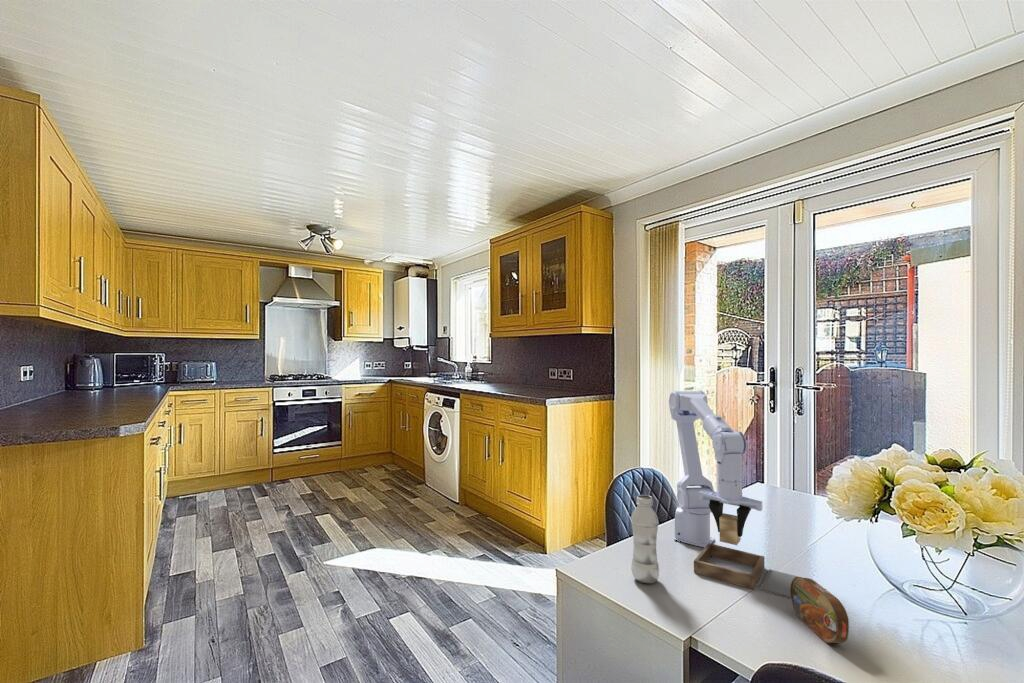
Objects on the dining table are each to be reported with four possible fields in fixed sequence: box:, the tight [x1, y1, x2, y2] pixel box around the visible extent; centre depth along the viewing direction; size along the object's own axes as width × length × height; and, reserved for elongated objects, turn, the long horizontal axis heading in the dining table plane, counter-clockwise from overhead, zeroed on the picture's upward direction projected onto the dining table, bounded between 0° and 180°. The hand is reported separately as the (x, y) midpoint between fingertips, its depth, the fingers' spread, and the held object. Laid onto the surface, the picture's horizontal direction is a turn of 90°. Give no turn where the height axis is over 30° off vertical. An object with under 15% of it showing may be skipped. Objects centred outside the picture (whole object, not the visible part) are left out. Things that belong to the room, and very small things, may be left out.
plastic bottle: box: [630, 494, 660, 584], centre depth 112 cm, size 6×7×20 cm
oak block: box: [719, 512, 742, 546], centre depth 117 cm, size 4×4×6 cm
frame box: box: [693, 543, 766, 591], centre depth 117 cm, size 14×14×3 cm
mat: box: [760, 569, 803, 599], centre depth 110 cm, size 8×12×1 cm, turn 142°
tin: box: [790, 576, 850, 644], centre depth 92 cm, size 15×3×8 cm, turn 178°
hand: (730, 533), depth 117 cm, fingers closed on oak block, 4 cm apart
